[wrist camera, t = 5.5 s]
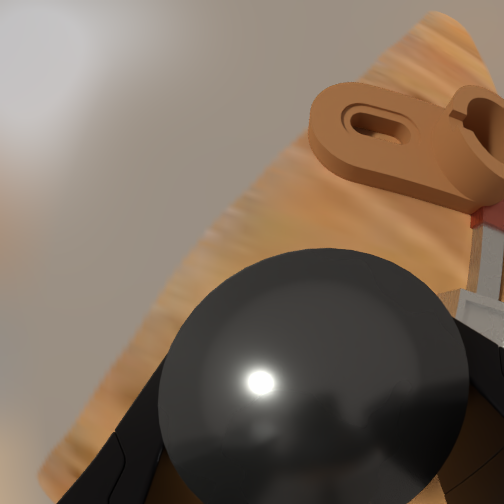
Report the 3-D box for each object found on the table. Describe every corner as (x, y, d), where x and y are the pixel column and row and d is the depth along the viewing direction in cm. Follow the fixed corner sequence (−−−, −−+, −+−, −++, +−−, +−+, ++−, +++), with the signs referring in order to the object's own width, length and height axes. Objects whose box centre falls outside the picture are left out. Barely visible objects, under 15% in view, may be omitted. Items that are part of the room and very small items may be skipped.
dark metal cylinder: (356, 366, 14) (499, 438, 3) (273, 410, 14) (250, 569, 3) (313, 285, 15) (384, 189, 4) (229, 330, 15) (104, 337, 4)
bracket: (489, 147, 22) (525, 109, 16) (496, 226, 21) (544, 198, 14) (315, 94, 25) (320, 36, 18) (299, 173, 23) (304, 119, 16)
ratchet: (410, 396, 18) (430, 406, 15) (450, 175, 22) (469, 157, 18) (484, 406, 17) (507, 414, 14) (513, 205, 20) (535, 191, 17)
